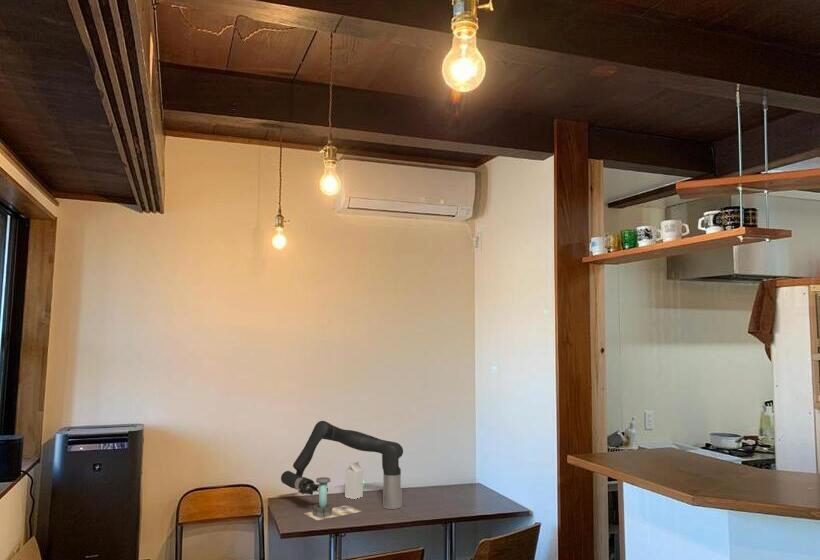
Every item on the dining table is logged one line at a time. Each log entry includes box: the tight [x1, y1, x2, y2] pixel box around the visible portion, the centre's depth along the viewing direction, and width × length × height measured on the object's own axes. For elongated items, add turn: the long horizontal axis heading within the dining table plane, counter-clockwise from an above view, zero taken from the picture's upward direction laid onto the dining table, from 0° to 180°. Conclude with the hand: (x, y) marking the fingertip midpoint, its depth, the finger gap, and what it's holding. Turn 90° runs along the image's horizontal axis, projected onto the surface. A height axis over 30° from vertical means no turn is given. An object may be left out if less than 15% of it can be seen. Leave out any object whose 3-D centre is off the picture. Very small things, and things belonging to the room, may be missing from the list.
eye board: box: [303, 503, 363, 521], centre depth 306 cm, size 26×14×6 cm, turn 128°
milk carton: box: [344, 461, 364, 500], centre depth 341 cm, size 7×7×19 cm
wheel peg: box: [315, 476, 331, 508], centre depth 303 cm, size 7×7×17 cm
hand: (319, 491), depth 306 cm, fingers open, 8 cm apart
